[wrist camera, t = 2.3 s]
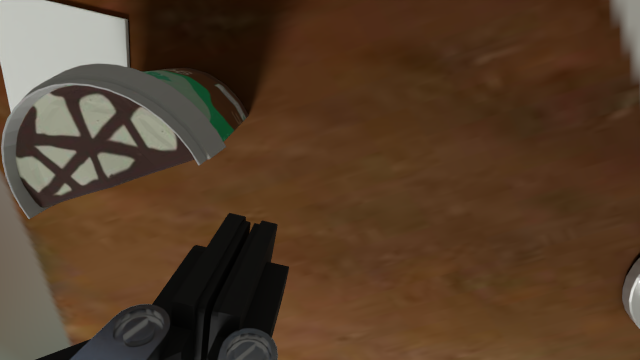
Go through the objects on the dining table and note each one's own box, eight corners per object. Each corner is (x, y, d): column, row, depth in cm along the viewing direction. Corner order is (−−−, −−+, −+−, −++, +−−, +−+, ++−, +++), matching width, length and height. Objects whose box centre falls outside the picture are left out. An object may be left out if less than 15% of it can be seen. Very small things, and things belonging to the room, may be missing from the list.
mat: (127, 19, 23) (125, 19, 23) (133, 163, 28) (131, 164, 28) (-11, -14, 24) (-16, -15, 23) (19, 134, 28) (15, 135, 28)
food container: (230, 22, 23) (139, 25, 14) (266, 109, 25) (209, 161, 16) (88, 82, 26) (-61, 118, 17) (132, 155, 28) (21, 221, 19)
